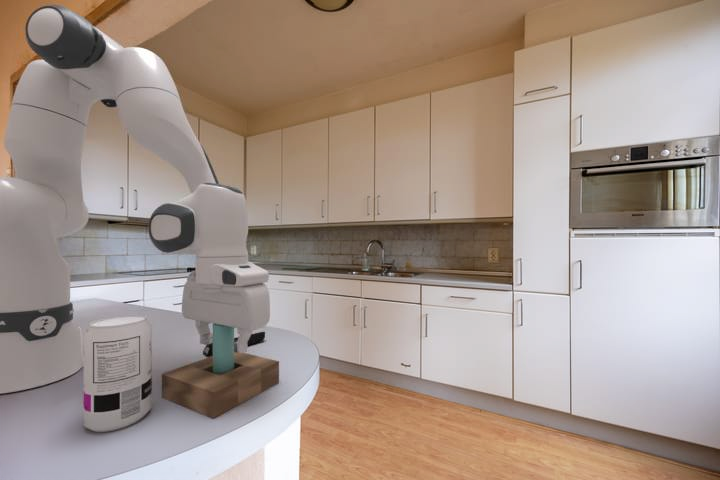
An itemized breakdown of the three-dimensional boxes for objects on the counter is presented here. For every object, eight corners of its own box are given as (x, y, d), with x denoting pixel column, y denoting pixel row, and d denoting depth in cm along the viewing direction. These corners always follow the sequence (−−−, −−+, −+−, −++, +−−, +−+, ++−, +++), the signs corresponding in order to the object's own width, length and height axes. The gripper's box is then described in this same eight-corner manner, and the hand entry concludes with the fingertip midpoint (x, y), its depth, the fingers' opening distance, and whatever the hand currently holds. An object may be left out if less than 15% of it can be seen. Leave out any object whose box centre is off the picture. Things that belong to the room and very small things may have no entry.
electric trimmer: (268, 344, 84) (268, 332, 84) (207, 358, 73) (207, 345, 73) (261, 341, 86) (261, 329, 87) (201, 354, 76) (202, 341, 76)
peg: (208, 390, 56) (208, 324, 56) (225, 383, 59) (225, 320, 60) (221, 395, 55) (221, 327, 55) (238, 387, 58) (238, 322, 58)
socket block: (161, 397, 54) (161, 374, 54) (230, 368, 66) (230, 349, 66) (213, 418, 47) (213, 392, 47) (279, 382, 60) (278, 361, 60)
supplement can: (68, 431, 44) (68, 326, 44) (122, 402, 52) (122, 313, 53) (116, 437, 43) (116, 328, 43) (164, 406, 51) (163, 315, 51)
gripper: (172, 271, 59) (172, 343, 59) (247, 276, 49) (247, 363, 49) (203, 268, 65) (203, 335, 65) (275, 272, 55) (276, 351, 55)
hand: (222, 347), depth 57 cm, fingers open, 8 cm apart
